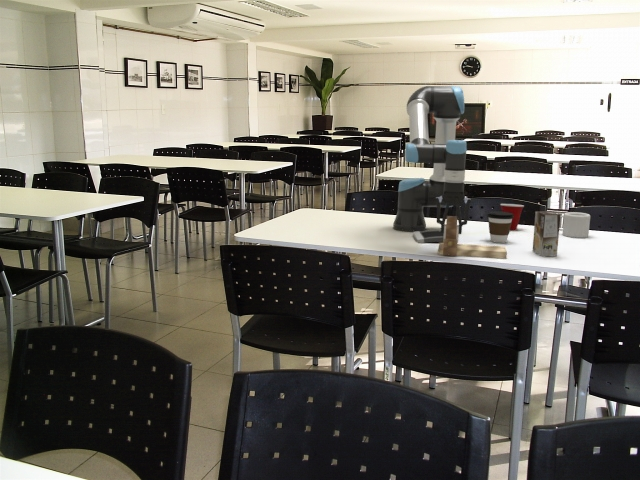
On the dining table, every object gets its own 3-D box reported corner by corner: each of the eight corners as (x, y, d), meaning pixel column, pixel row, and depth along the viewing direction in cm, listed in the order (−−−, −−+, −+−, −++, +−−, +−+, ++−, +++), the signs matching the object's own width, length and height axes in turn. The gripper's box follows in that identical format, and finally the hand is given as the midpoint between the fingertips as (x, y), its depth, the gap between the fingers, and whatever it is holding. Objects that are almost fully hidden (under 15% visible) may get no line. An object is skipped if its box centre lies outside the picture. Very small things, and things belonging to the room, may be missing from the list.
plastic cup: (523, 228, 290) (526, 203, 288) (520, 232, 281) (522, 206, 278) (500, 226, 295) (502, 201, 293) (496, 229, 286) (498, 204, 283)
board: (438, 254, 233) (438, 247, 233) (439, 248, 243) (439, 242, 243) (506, 258, 228) (506, 251, 228) (504, 252, 238) (505, 246, 237)
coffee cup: (498, 244, 253) (500, 216, 250) (479, 239, 262) (481, 212, 260) (517, 242, 258) (519, 214, 255) (499, 237, 267) (501, 210, 265)
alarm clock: (457, 237, 253) (417, 233, 253) (455, 248, 254) (416, 244, 254) (449, 229, 269) (412, 225, 270) (448, 239, 270) (411, 236, 271)
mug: (588, 235, 277) (590, 213, 275) (587, 239, 267) (590, 216, 265) (556, 232, 282) (558, 210, 280) (554, 236, 273) (556, 214, 271)
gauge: (442, 255, 230) (444, 220, 227) (443, 247, 244) (445, 214, 241) (456, 256, 229) (458, 221, 226) (456, 248, 242) (458, 215, 240)
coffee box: (557, 256, 233) (561, 214, 230) (541, 256, 233) (545, 214, 229) (547, 251, 242) (550, 210, 239) (531, 251, 242) (534, 210, 238)
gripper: (430, 181, 230) (427, 242, 235) (477, 183, 226) (473, 245, 231) (431, 179, 237) (428, 238, 242) (477, 181, 234) (473, 241, 238)
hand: (450, 241), depth 237 cm, fingers closed on gauge, 4 cm apart
